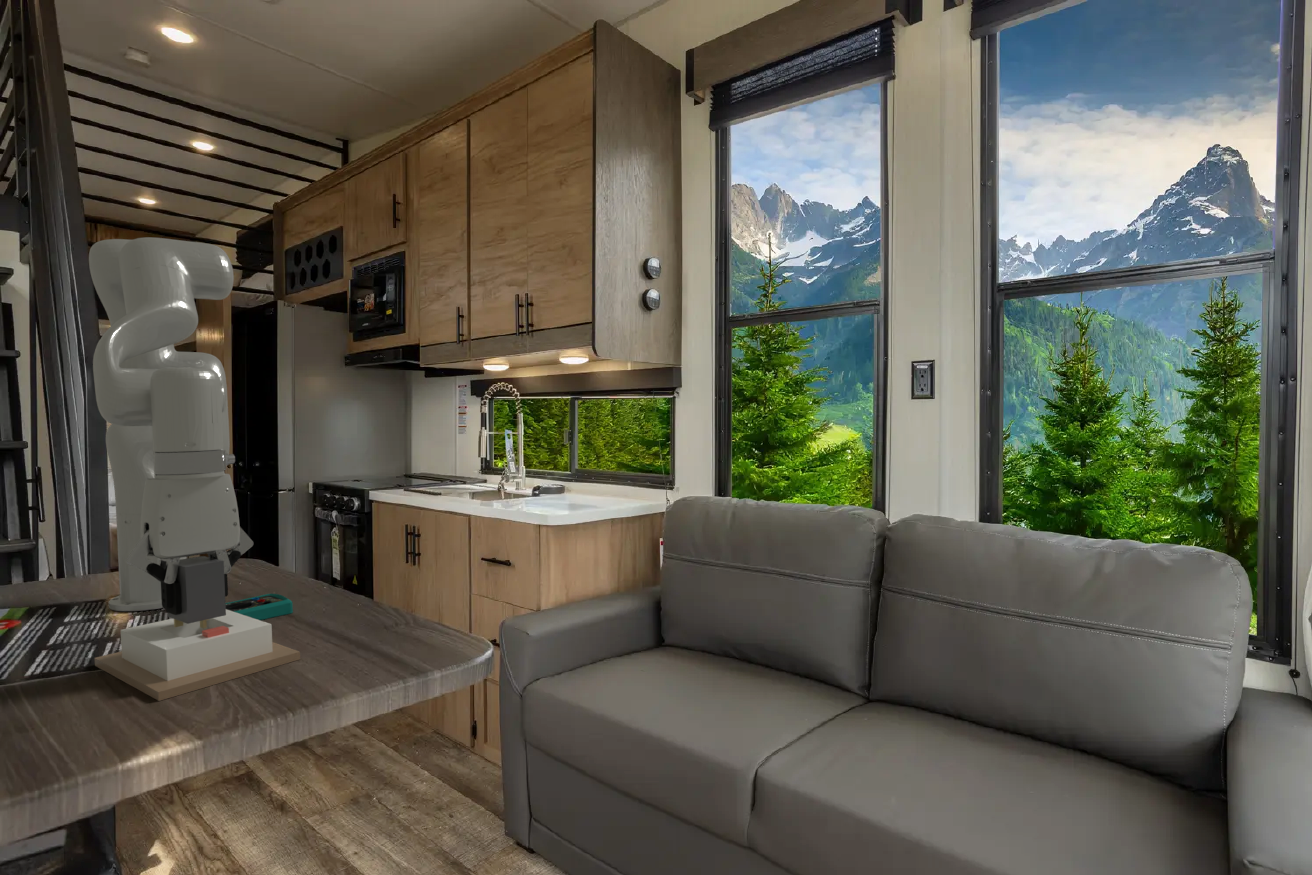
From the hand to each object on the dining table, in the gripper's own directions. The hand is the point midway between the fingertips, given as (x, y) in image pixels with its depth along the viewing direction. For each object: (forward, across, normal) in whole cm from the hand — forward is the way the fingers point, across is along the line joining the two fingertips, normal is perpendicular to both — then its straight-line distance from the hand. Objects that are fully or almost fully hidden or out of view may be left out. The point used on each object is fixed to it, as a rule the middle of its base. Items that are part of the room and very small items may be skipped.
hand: (196, 606), depth 93 cm
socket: (+7, 0, 0) cm, 7 cm away
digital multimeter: (+8, -12, -16) cm, 22 cm away
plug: (+2, 0, 0) cm, 2 cm away
